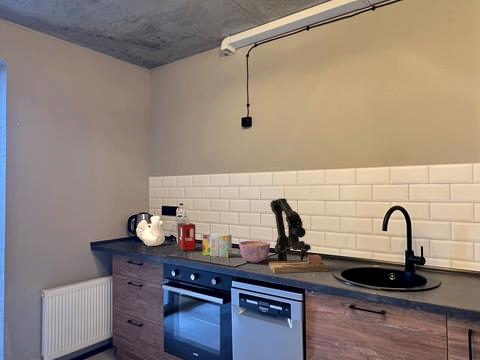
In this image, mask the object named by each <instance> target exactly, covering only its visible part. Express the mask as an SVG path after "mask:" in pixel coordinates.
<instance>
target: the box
mask: <svg viewBox="0 0 480 360" xmlns="http://www.w3.org/2000/svg"><path fill="white" fill-rule="evenodd" d="M268 267H269V268H270V270H271V271H272V272H273V273H274V274H285V273H286V274H289V273H291V274H292V273H312V272H329V265H328V264H326V263H324V262H323V261H321V264H313V265H311V264H310V263H308V259H307V260H303V261H302V262H301V260H288V261H287V263H286V262H285V261H279V262H278V261H268Z"/></svg>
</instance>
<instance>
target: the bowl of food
mask: <svg viewBox="0 0 480 360" xmlns="http://www.w3.org/2000/svg"><path fill="white" fill-rule="evenodd" d="M238 244H239V245H238V246H239V249H240V253H241V257H242V258H243V259H244V260H246V262H247V261H248V263H250V264H251V263H252V264H253V263H254V264H258V263H262V261H264V260H266V259H267V258H268V256H269V252H270V249H271V248H270V247H271V242H270V241H266V240H245V241H241V242H238Z"/></svg>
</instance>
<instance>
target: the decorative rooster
mask: <svg viewBox="0 0 480 360" xmlns="http://www.w3.org/2000/svg"><path fill="white" fill-rule="evenodd" d="M150 221H151V223H148V222H147V220H145V219H142V220H141V221H140V222H139V223H138V224H137V226H136V227H137V228H136V229H135V231H136V235H137V237H138V238H139V239H140V240H141V241H142V242H143V243H144V244H145V245H146V246H147V247H154V246H155V247H156V246H161V245H162V244H163V243H164V242H165V239H166V237H165V232H164V230H163V225H164V224H163V223H164V221H162V219H161V216H160V215H159V216H158V215H154V216H151V217H150ZM149 226H150V227H149Z"/></svg>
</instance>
